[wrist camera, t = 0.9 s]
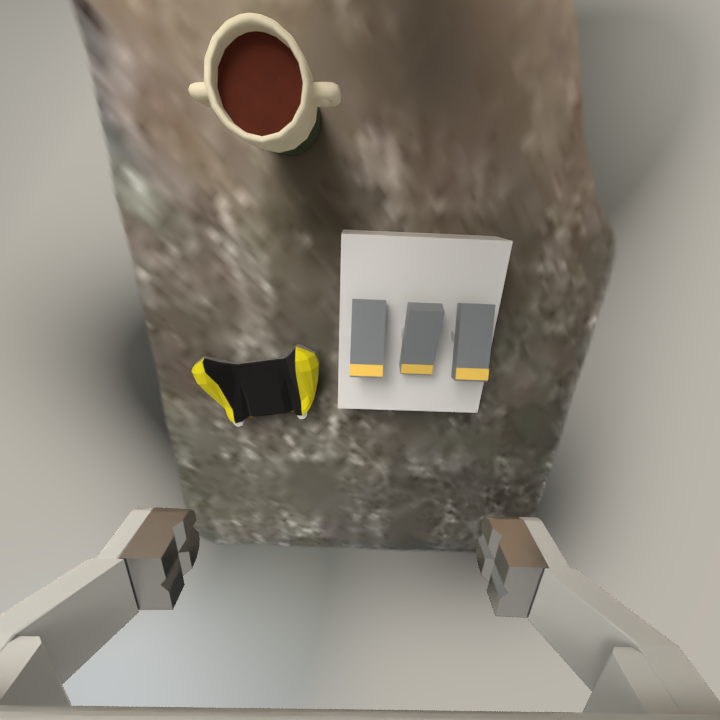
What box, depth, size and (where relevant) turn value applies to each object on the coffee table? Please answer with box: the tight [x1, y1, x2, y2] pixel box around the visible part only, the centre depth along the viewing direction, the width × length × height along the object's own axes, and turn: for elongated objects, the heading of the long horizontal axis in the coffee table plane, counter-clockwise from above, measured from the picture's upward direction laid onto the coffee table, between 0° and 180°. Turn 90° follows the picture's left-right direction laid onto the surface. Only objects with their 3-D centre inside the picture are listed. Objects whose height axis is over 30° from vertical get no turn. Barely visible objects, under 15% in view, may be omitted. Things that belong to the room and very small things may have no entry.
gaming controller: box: [192, 344, 320, 427], centre depth 45 cm, size 15×6×10 cm
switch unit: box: [338, 229, 513, 413], centre depth 42 cm, size 20×17×6 cm
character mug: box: [189, 13, 341, 155], centre depth 30 cm, size 11×7×13 cm, turn 90°
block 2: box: [451, 303, 495, 382], centre depth 38 cm, size 8×3×2 cm, turn 178°
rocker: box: [399, 302, 445, 375], centre depth 38 cm, size 8×3×2 cm, turn 177°
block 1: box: [350, 299, 386, 378], centre depth 37 cm, size 8×3×2 cm, turn 178°
